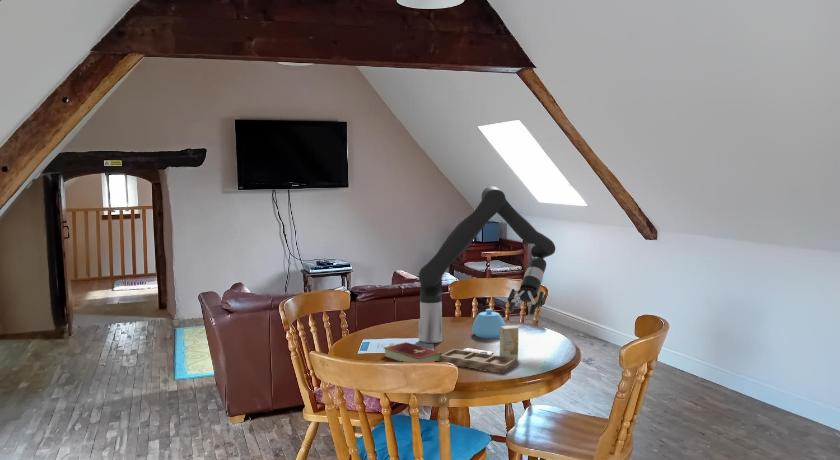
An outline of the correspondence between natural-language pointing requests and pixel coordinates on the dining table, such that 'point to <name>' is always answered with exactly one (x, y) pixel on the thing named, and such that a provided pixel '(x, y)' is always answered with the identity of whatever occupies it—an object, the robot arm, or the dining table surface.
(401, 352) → the hardcover book
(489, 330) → the sugar bowl
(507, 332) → the skincare box
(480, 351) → the card
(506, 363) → the socket board
